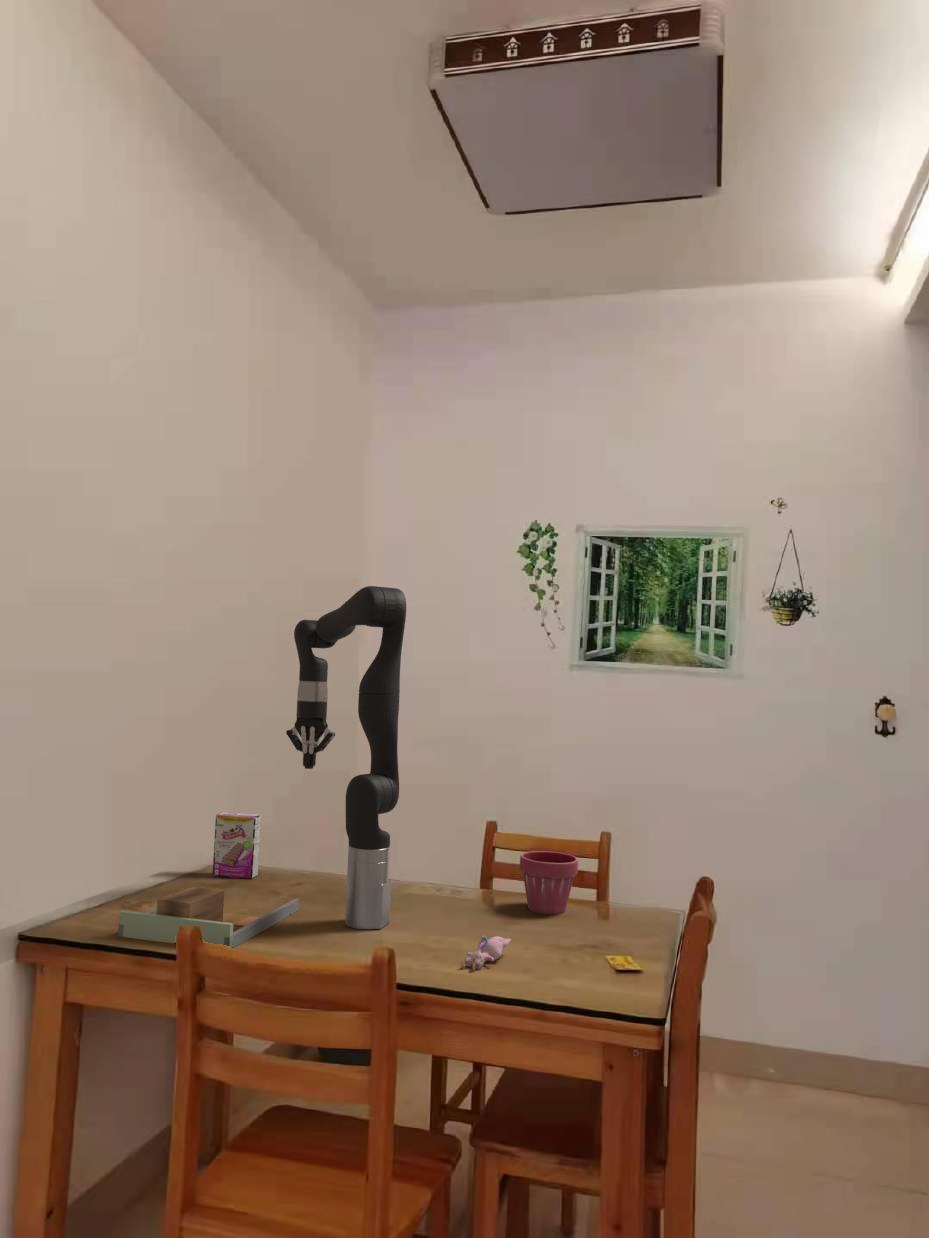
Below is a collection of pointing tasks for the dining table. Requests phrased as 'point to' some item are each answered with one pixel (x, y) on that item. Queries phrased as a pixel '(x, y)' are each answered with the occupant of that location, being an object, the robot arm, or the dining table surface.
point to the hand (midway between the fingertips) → (309, 768)
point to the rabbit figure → (486, 952)
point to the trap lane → (213, 931)
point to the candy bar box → (236, 845)
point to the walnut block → (193, 904)
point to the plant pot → (548, 880)
